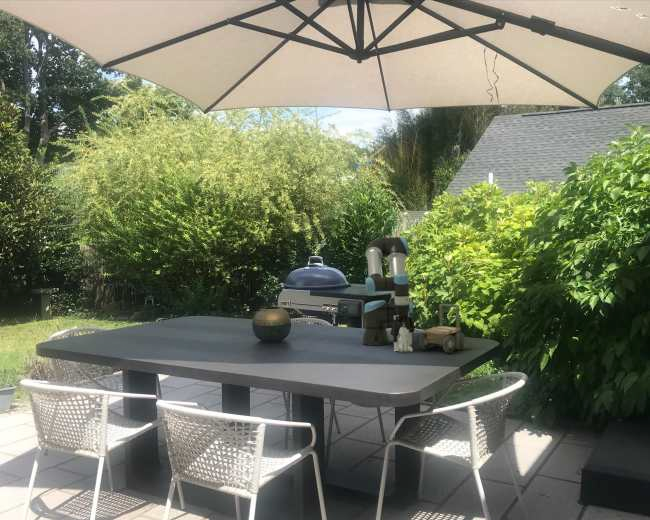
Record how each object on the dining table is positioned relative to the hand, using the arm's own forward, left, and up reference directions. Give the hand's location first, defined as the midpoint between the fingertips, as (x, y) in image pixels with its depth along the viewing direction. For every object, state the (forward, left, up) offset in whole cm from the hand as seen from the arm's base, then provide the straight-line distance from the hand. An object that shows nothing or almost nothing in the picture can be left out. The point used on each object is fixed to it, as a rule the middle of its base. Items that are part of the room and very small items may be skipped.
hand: (403, 346), depth 328 cm
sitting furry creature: (0, 0, -2) cm, 2 cm away
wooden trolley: (+16, +12, -2) cm, 20 cm away
